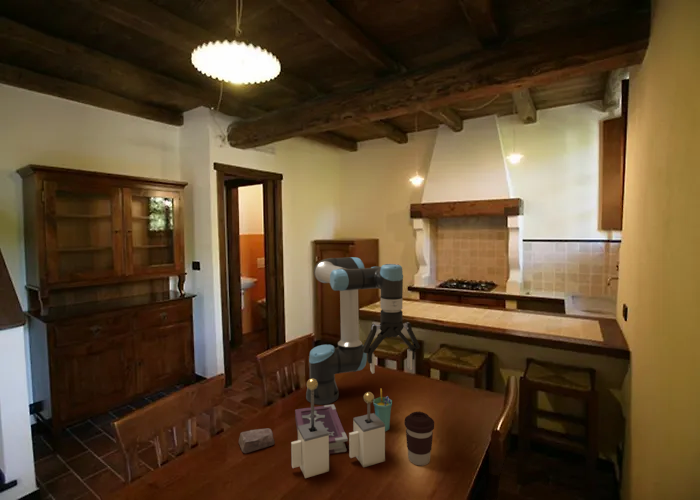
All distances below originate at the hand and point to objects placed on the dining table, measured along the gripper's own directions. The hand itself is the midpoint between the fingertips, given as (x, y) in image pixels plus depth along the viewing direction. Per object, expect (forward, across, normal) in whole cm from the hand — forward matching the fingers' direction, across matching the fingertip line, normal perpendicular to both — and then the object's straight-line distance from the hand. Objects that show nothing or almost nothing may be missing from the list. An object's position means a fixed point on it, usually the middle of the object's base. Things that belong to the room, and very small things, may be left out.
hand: (391, 370), depth 123 cm
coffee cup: (+29, +8, -6) cm, 31 cm away
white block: (+29, -10, -2) cm, 31 cm away
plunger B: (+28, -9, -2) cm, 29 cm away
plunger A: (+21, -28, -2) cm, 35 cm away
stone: (+30, -46, +15) cm, 57 cm away
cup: (+29, +2, +14) cm, 33 cm away
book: (+30, -23, +16) cm, 41 cm away
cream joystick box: (+29, -29, -3) cm, 41 cm away
